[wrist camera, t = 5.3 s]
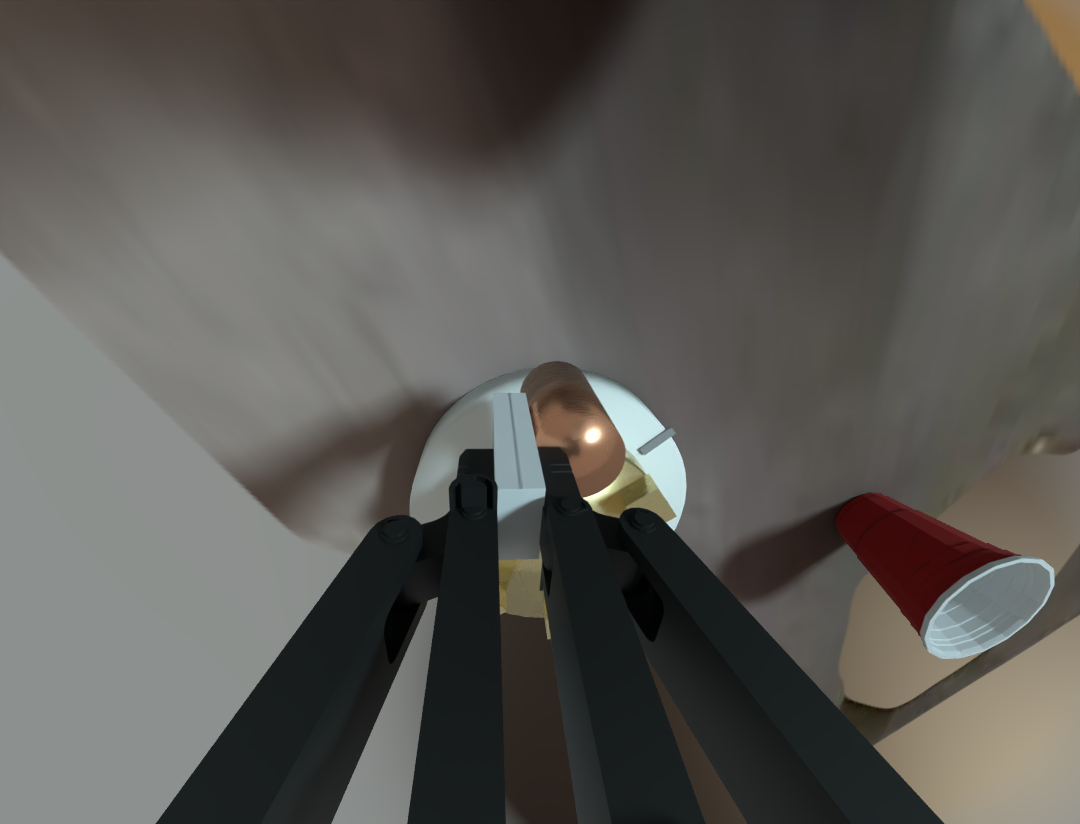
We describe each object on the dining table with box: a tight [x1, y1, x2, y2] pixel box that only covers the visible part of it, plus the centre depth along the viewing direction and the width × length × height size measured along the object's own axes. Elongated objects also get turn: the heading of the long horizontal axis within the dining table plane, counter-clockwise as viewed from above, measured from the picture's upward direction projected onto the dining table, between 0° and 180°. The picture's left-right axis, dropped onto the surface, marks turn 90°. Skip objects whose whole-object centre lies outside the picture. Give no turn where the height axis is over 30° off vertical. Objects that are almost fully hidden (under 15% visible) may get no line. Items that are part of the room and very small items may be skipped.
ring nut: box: [491, 361, 677, 639], centre depth 24 cm, size 23×16×11 cm
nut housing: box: [410, 368, 686, 531], centre depth 32 cm, size 22×22×4 cm
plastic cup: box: [835, 493, 1054, 659], centre depth 35 cm, size 11×11×12 cm
